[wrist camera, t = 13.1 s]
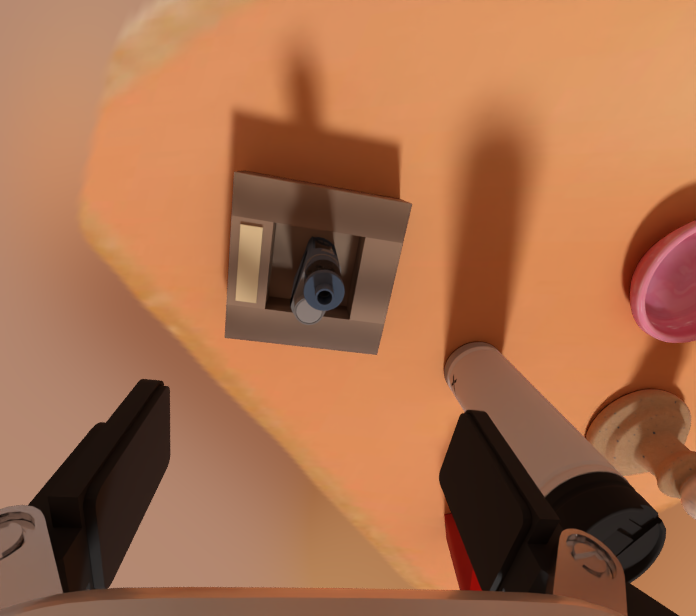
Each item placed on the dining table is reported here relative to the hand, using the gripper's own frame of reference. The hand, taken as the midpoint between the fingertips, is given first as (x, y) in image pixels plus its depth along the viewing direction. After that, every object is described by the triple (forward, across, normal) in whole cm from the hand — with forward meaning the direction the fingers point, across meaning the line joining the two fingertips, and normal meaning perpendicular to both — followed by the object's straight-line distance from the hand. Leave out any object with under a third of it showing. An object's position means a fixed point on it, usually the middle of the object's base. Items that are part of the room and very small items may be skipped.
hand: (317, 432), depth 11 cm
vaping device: (+21, 0, 0) cm, 21 cm away
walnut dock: (+22, 0, 0) cm, 22 cm away
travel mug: (+22, -18, +9) cm, 30 cm away
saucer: (+23, -36, -4) cm, 43 cm away
